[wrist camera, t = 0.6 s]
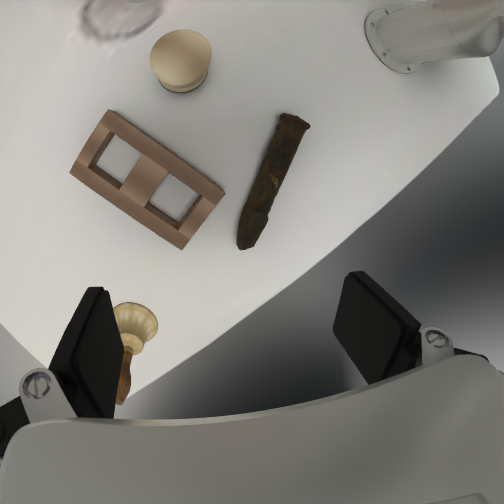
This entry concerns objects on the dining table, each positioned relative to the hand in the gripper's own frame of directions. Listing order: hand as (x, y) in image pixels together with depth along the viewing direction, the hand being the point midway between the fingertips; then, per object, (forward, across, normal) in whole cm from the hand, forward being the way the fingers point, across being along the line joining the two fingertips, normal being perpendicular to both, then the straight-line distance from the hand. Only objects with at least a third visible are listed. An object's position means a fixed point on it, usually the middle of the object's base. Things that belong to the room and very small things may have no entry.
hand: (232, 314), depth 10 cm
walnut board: (+27, +7, -2) cm, 28 cm away
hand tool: (+27, -9, 0) cm, 29 cm away
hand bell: (+27, +12, +21) cm, 36 cm away
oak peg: (+27, +3, -15) cm, 31 cm away
